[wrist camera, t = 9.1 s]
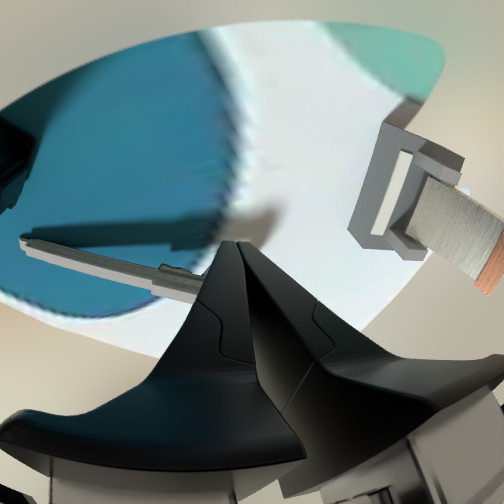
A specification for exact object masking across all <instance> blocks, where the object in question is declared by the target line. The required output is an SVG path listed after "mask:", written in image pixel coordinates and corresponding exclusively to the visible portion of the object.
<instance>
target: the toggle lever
mask: <svg viewBox="0 0 504 504" xmlns="http://www.w3.org/2000/svg"><path fill="white" fill-rule="evenodd" d="M405 233H406V234H407V235H409V236H411V237H412V238H414V239H415V240H417V241H419V242H420V243H422V244H423V245H425V246H426V247H428V248H429V249H431V250H433V251H434V252H436V253H437V254H439V255H440V256H442V257H443V258H445V259H446V260H448V261H449V262H450V263H452V264H453V265H455V266H456V267H458V268H459V269H461V270H462V271H464V272H465V273H466V274H468V275H469V276H470V277H472V278H473V279H475V284H474V285H475V286H476V287H477V288H478V289H480V290H481V291H482V292H484V293H485V294H486V295H488V296H489V295H490V294H491V292H492V291H493V289H494V288H495V286H496V285H497V283H498V281H499V280H500V278H501V276H502V274H503V273H504V219H503V218H501V217H500V216H498V215H497V214H496V213H494V212H493V211H491V210H490V209H488V208H486V207H485V206H483V205H482V204H480V203H479V202H477V201H475V200H473V199H472V198H471V197H469V196H467V195H466V194H464V193H462V192H461V191H459V190H457V189H456V188H454V187H452V186H450V185H449V184H447V183H445V182H443V181H441V180H440V179H438V178H436V177H434V176H432V175H431V176H428V178H427V180H426V183H425V186H424V188H423V191H422V194H421V196H420V199H419V201H418V204H417V206H416V209H415V211H414V213H413V216H412V218H411V220H410V223H409V225H408V227H407V230H406V232H405Z"/></svg>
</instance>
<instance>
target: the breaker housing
mask: <svg viewBox="0 0 504 504" xmlns="http://www.w3.org/2000/svg"><path fill="white" fill-rule="evenodd" d="M464 159H465V158H463V157H461V156H460V155H458V154H456V153H454V152H452V151H450V150H448V149H446V148H445V147H443V146H440V145H438V144H436V143H434V142H431V141H429V140H427V139H425V138H422V137H420V136H418V135H415V134H413V133H410V132H408V131H405V130H403V129H400V128H398V127H395V126H392V125H390V124H387V123H384V122H382V125H381V128H380V132H379V135H378V139H377V142H376V145H375V149H374V152H373V155H372V159H371V162H370V165H369V168H368V171H367V174H366V177H365V181H364V184H363V187H362V189H361V192H360V195H359V198H358V201H357V204H356V207H355V210H354V212H353V215H352V218H351V221H350V224H349V226H348V229H347V230H348V231H349V232H350V233H351V234H352V236H353V237H354V238H355V239H356V241H357V242H358V243H359V244H360V246H361V247H362V248H363V249H379V250H395V251H396V252H397V253H398V255H399V256H400V257H401V258H402V259H403V260H413V261H423V260H424V258H425V256H426V254H427V252H428V250H427V248H428V247H426V246H425V245H423V244H422V243H420V242H419V241H417V240H415V239H414V238H412V237H411V236H409V235H407V234H406V233H405V232H406V230H407V227H408V225H409V223H410V220H411V218H412V216H413V213H414V211H415V209H416V206H417V204H418V201H419V199H420V196H421V194H422V191H423V188H424V186H425V183H426V180H427V178H428V176H431V175H432V176H434V177H436V178H438V179H440V180H441V181H443V182H445V183H447V184H449V185H450V186H452V187H455V185H458V182H459V179H460V177H461V173H460V171H461V168H462V165H463V162H464Z"/></svg>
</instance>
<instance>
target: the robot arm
mask: <svg viewBox="0 0 504 504" xmlns="http://www.w3.org/2000/svg"><path fill="white" fill-rule="evenodd" d="M28 140H29V141H30V143H31V144H30V145H29V144H28ZM35 143H36V142H35V138H34V137H33V136H32V135H30V134H28V133H27V132H25V131H23V130H22V129H20V128H18V127H17V126H15V125H13V124H12V123H10V122H8V121H7V120H5V119H3V118H2V117H0V215H1V214H2V213H3V212H4V211H5V210H6V209H7V208H9V209H12V208H13V207H14V206H15V205H16V201H17V198H18V197H19V196H20V195H21V192H22V189H23V185H24V182H25V179H26V176H27V173H28V170H29V166H28V163H29V160H30V157H31V154H32V152H33V149H34V146H35ZM11 203H12V204H11ZM503 380H504V355H500V354H493V355H490V356H488V357H486V358H484V359H478V360H467V361H466V360H465V361H458V360H457V361H456V360H455V361H454V360H425V359H424V360H423V359H407V358H402V357H399V356H396V355H394V354H392V353H390V352H388V351H386V350H385V349H383V348H382V347H380V346H379V345H378V344H376V343H375V342H373V341H372V340H370V339H369V338H368V337H366V336H365V335H363V334H362V333H360V332H359V331H358V330H356V329H355V328H353V327H352V326H351V325H349V324H348V323H347V322H345V321H344V320H342V319H341V318H340V317H338V316H337V315H336V314H335V313H333V312H332V311H331V310H330V309H328V308H327V307H326V306H325V305H324V304H322V303H321V302H320V301H317V299H316V298H315V297H314V296H313V295H312V294H310V293H309V292H308V291H307V290H306V289H305V288H303V287H302V286H301V285H300V284H299V283H297V282H296V281H295V280H294V279H293V278H291V277H290V276H289V275H288V274H287V273H285V272H284V271H283V270H282V269H281V268H279V267H278V266H277V265H276V264H275V263H273V262H272V261H271V260H270V259H269V258H267V257H266V256H265V255H264V254H263V253H262V252H260V251H259V250H258V249H257V248H256V247H254V246H253V245H252V244H251V243H249V242H241V241H238V242H235V241H222V243H221V245H220V247H219V249H218V251H217V253H216V255H215V257H214V260H213V262H212V264H211V266H210V268H209V270H208V273H207V275H206V277H205V279H204V281H203V284H202V286H201V288H200V290H199V292H198V295H197V297H196V299H195V301H194V303H193V305H192V308H191V310H190V312H189V314H188V316H187V318H186V320H185V322H184V323H183V325H182V327H181V328H180V330H179V331H178V333H177V335H176V336H175V338H174V339H173V341H172V342H171V343H170V345H169V346H168V348H167V349H166V351H165V352H164V354H163V355H162V357H161V358H160V360H159V361H158V363H157V364H156V366H155V367H154V368H153V370H152V371H151V373H150V374H149V375H148V376H147V378H146V379H145V380H144V381H142V382H141V383H140V384H139V385H137V386H135V387H133V388H132V389H130V390H128V391H126V392H125V393H123V394H121V395H119V396H118V397H116V398H114V399H112V400H110V401H108V402H107V403H105V404H103V405H101V406H99V407H97V408H96V409H94V410H92V411H89V412H87V413H84V414H79V415H71V416H62V415H55V414H50V413H45V412H41V411H36V410H31V409H24V410H19V411H17V412H16V413H14V414H13V415H11V416H10V417H9V418H7V419H5V420H4V421H3V422H2V423H1V424H0V449H1V450H3V451H4V452H6V453H7V454H9V455H10V456H12V457H14V458H15V459H17V460H18V461H20V462H22V463H24V464H25V465H27V466H29V467H30V468H32V469H34V470H36V471H38V472H40V473H41V474H43V475H46V476H47V477H49V504H238V501H240V500H242V499H244V498H246V497H248V496H250V495H251V494H253V493H255V492H256V491H258V490H260V489H262V488H263V487H265V486H267V485H268V484H270V483H272V482H273V481H275V480H276V479H278V481H279V484H280V487H281V491H282V494H283V497H284V499H286V498H291V497H295V496H300V495H304V494H308V493H312V492H316V491H319V490H320V493H321V497H322V500H323V503H324V504H503V502H504V404H503V405H502V406H500V405H499V403H498V401H497V399H496V398H495V396H494V394H493V392H492V390H494V389H495V388H496V387H497V386H498V385H499V384H500V383H501V382H502V381H503ZM0 504H37V503H36V502H35V500H34V499H33V498H32V497H31V496H29V495H26V494H23V493H21V492H18V491H16V490H13V489H11V488H8V487H6V486H4V485H2V484H0Z"/></svg>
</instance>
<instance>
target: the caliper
mask: <svg viewBox="0 0 504 504" xmlns="http://www.w3.org/2000/svg"><path fill="white" fill-rule="evenodd" d="M19 242H20V247H21V249H22V250H25V251H26V255H28V256H31V257H34V258H37V259H40V260H43V261H46V262H49V263H53V264H56V265H59V266H62V267H66V268H69V269H73V270H76V271H80V272H83V273H87V274H90V275H94V276H98V277H101V278H105V279H109V280H113V281H117V282H120V283H124V284H128V285H132V286H136V287H140V288H144V289H149V290H151V294H153V295H157V296H161V297H165V298H169V299H173V300H177V301H182V302H186V303H190V304H193V303H194V301H195V299H196V297H197V295H198V292H199V290H200V288H201V286H202V284H203V281H204V279H205V277H206V275H207V273H208V270H209V268H210V266H211V265H210V266H209V267H208V268H207V270H206V271H205V272H204V273H203V274H202V275H201V276H200V275H195V274H192V272H189V271H187V270H185V269H183V268H180V267H171V266H169V265H167V264H161V265H160V267H159V268H158V269H156V268H151V267H147V266H143V265H138V264H134V263H130V262H126V261H122V260H118V259H113V258H109V257H105V256H101V255H97V254H93V253H90V252H86V251H82V250H78V249H75V248H71V247H67V246H64V245H60V244H56V243H53V242H49V241H46V240H38V239H30V240H28V239H25V238H21V237H20V238H19Z"/></svg>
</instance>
